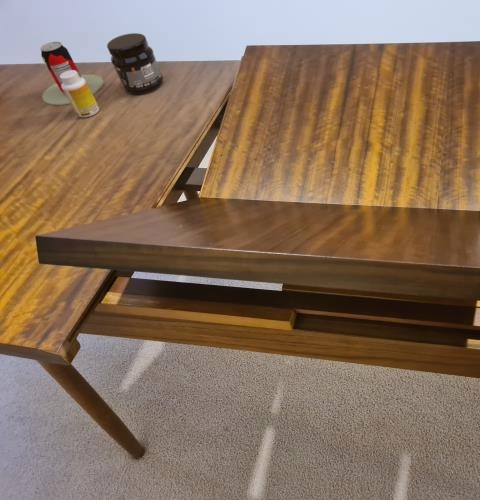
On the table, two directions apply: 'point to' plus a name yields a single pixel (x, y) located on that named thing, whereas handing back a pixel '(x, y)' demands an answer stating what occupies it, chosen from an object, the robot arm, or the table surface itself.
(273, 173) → the table surface
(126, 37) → the supplement container
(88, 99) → the supplement bottle
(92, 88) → the mat
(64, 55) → the beverage can
